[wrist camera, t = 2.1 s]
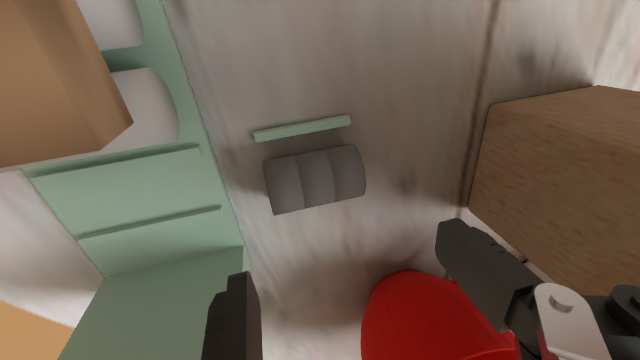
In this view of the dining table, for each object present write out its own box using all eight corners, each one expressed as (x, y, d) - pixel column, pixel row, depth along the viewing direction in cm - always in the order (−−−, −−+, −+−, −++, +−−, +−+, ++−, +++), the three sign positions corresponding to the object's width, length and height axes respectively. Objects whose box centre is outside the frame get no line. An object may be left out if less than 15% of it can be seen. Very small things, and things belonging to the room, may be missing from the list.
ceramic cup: (501, 244, 29) (603, 333, 21) (397, 338, 34) (446, 441, 26) (429, 195, 24) (529, 290, 15) (316, 316, 28) (344, 440, 20)
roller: (260, 149, 17) (267, 196, 15) (350, 132, 18) (368, 174, 16) (269, 182, 20) (277, 225, 18) (346, 166, 21) (362, 205, 19)
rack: (253, 131, 18) (253, 134, 17) (348, 114, 18) (350, 116, 18) (269, 197, 20) (270, 201, 20) (352, 179, 21) (354, 183, 21)
